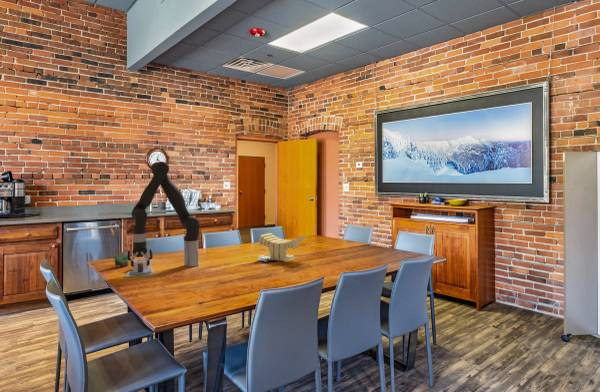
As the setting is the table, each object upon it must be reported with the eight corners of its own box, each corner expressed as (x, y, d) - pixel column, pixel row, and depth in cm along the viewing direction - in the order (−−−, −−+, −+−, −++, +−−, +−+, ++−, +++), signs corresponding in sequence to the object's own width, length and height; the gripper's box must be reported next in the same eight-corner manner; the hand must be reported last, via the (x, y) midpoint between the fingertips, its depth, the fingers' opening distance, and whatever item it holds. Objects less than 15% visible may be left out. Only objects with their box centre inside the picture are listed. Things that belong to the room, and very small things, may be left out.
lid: (152, 270, 236) (152, 260, 236) (149, 275, 224) (149, 265, 224) (131, 271, 233) (131, 262, 232) (127, 276, 221) (127, 266, 220)
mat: (155, 270, 236) (155, 269, 236) (152, 275, 225) (152, 274, 225) (128, 272, 232) (128, 271, 232) (124, 277, 221) (124, 276, 220)
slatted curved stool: (259, 259, 270) (259, 235, 269) (271, 255, 284) (271, 232, 283) (294, 264, 255) (294, 238, 254) (305, 259, 269) (305, 235, 268)
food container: (122, 268, 241) (121, 253, 241) (113, 268, 243) (113, 253, 242) (134, 264, 253) (133, 250, 253) (126, 264, 255) (125, 249, 254)
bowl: (152, 266, 247) (152, 257, 247) (149, 270, 237) (149, 261, 236) (134, 267, 245) (134, 258, 244) (131, 271, 234) (131, 262, 234)
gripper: (152, 239, 233) (153, 264, 234) (128, 240, 229) (129, 265, 230) (151, 241, 225) (151, 267, 226) (126, 242, 222) (126, 268, 223)
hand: (140, 266), depth 228 cm, fingers open, 8 cm apart
